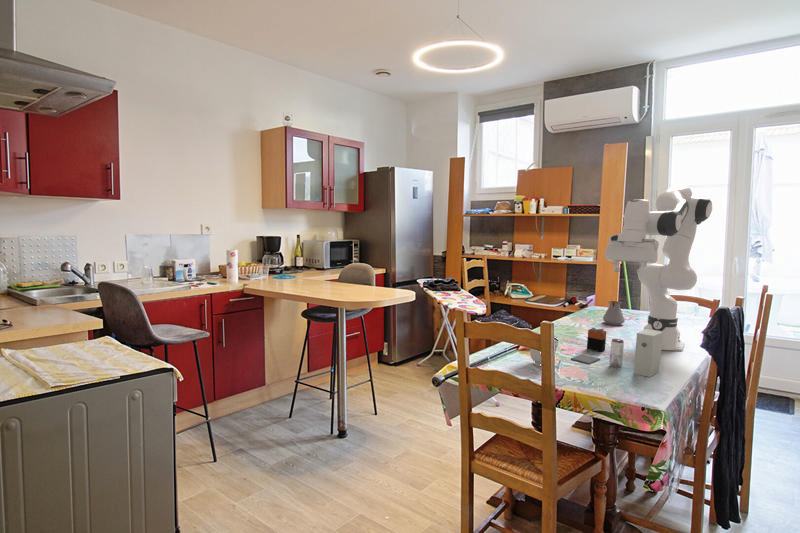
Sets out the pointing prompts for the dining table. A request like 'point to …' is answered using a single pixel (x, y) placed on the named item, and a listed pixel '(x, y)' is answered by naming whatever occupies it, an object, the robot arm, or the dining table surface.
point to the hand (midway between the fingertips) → (627, 272)
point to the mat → (585, 359)
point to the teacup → (537, 356)
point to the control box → (648, 352)
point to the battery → (596, 339)
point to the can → (616, 353)
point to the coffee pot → (614, 314)
